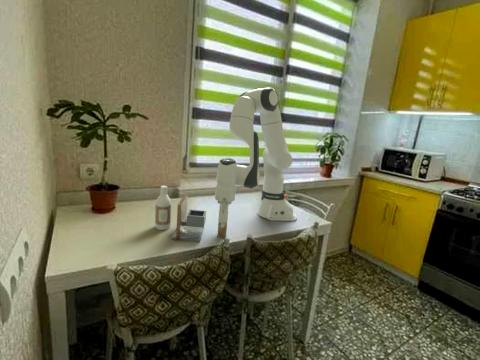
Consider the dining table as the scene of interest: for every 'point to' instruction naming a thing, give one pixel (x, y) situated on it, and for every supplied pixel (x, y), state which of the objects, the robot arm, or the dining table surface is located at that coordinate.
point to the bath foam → (163, 210)
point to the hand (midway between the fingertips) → (222, 224)
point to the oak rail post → (222, 230)
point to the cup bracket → (189, 223)
